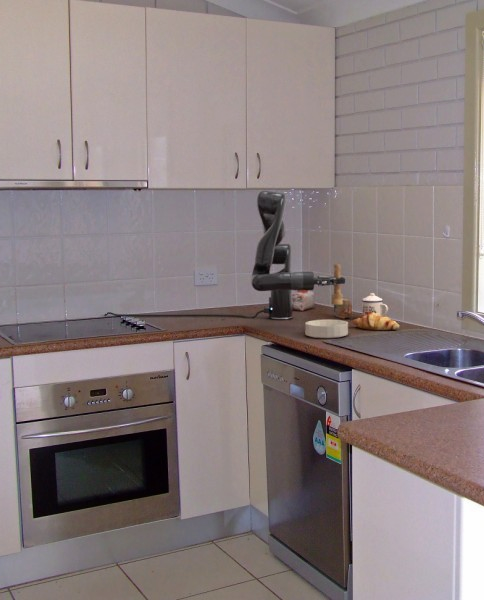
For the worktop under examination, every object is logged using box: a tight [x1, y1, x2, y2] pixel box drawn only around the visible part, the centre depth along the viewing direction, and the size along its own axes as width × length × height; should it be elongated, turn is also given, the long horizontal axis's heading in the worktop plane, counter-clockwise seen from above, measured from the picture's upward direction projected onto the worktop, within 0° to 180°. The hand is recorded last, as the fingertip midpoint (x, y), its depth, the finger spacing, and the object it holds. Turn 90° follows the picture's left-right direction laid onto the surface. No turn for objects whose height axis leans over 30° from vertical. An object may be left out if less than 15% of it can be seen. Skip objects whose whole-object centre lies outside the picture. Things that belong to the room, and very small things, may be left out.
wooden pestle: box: [331, 263, 344, 306], centre depth 338 cm, size 4×4×16 cm
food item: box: [292, 290, 316, 312], centre depth 401 cm, size 14×8×10 cm, turn 158°
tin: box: [333, 298, 353, 320], centre depth 374 cm, size 15×3×8 cm, turn 25°
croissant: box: [351, 312, 400, 331], centre depth 343 cm, size 21×10×8 cm, turn 65°
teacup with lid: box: [361, 292, 389, 317], centre depth 367 cm, size 12×9×12 cm
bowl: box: [304, 319, 349, 339], centre depth 327 cm, size 17×17×5 cm
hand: (344, 280), depth 339 cm, fingers closed on wooden pestle, 2 cm apart
